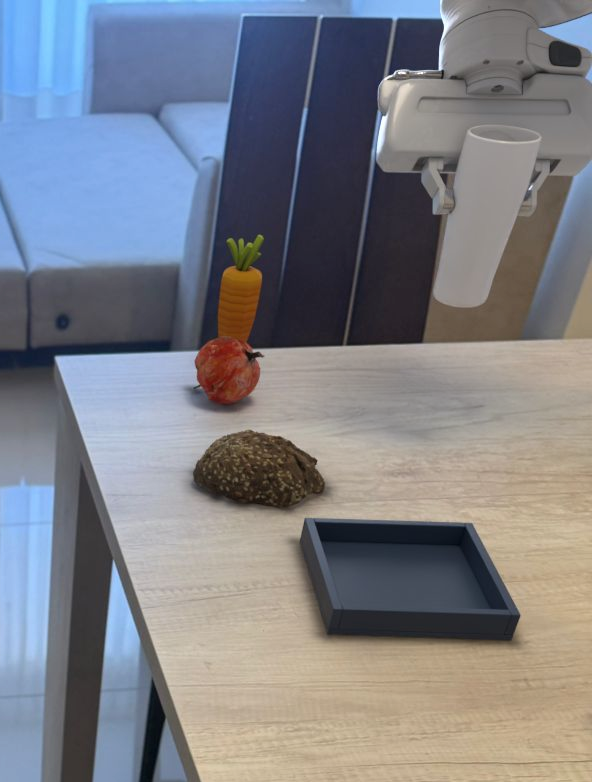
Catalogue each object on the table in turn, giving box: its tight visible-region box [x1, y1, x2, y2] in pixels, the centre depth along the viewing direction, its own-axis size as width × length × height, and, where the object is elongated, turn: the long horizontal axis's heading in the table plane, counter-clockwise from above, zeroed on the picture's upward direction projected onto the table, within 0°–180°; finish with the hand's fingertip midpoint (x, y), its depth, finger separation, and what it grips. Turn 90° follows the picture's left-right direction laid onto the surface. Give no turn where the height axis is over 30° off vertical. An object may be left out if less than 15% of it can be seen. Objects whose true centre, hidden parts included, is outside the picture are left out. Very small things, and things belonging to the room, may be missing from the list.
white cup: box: [432, 125, 542, 309], centre depth 111 cm, size 7×7×15 cm
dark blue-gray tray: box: [299, 517, 521, 642], centre depth 103 cm, size 16×16×3 cm
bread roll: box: [192, 428, 326, 509], centre depth 117 cm, size 13×12×5 cm
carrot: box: [217, 234, 265, 343], centre depth 136 cm, size 5×5×15 cm
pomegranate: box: [193, 336, 265, 406], centre depth 132 cm, size 7×7×10 cm
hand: (484, 212), depth 110 cm, fingers closed on white cup, 6 cm apart
